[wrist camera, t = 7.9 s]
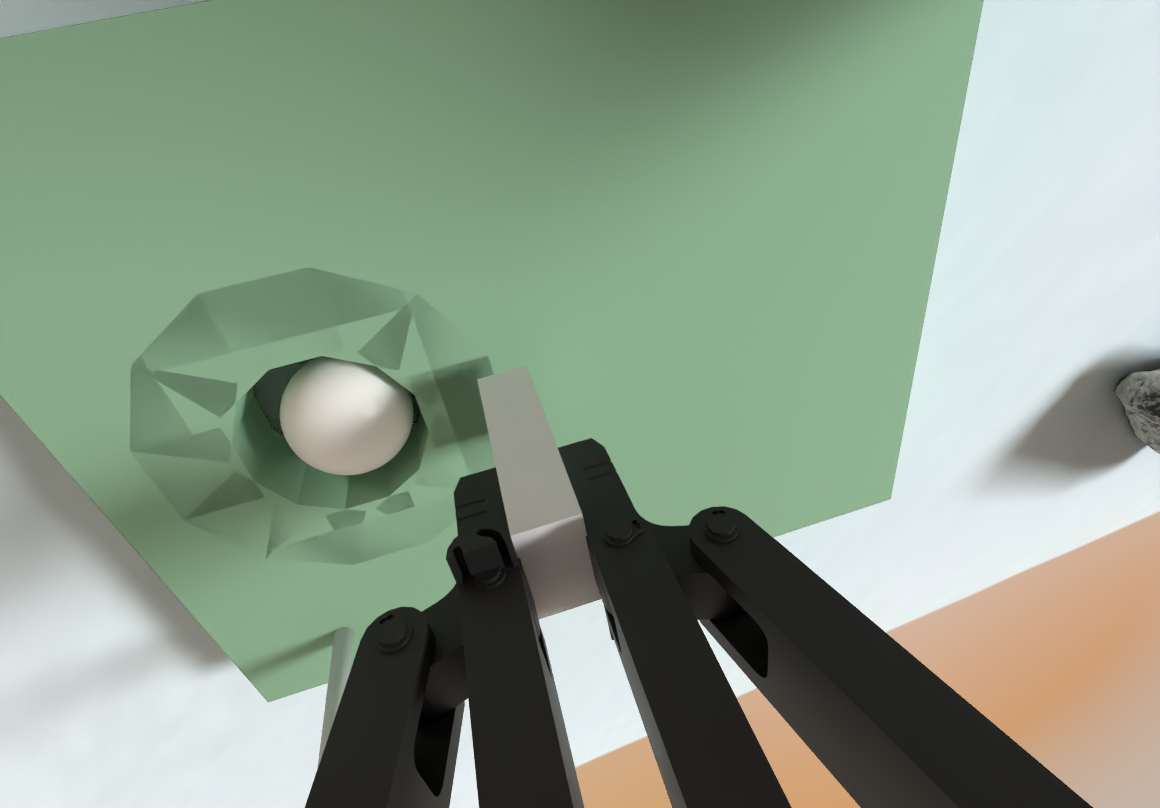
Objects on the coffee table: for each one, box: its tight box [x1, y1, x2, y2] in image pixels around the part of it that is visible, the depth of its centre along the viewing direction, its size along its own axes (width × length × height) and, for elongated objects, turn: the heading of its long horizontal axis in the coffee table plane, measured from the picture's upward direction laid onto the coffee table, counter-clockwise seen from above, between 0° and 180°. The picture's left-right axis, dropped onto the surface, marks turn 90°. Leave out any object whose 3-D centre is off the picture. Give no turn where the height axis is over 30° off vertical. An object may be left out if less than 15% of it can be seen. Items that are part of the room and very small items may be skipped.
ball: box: [280, 356, 414, 475], centre depth 19 cm, size 4×4×4 cm
